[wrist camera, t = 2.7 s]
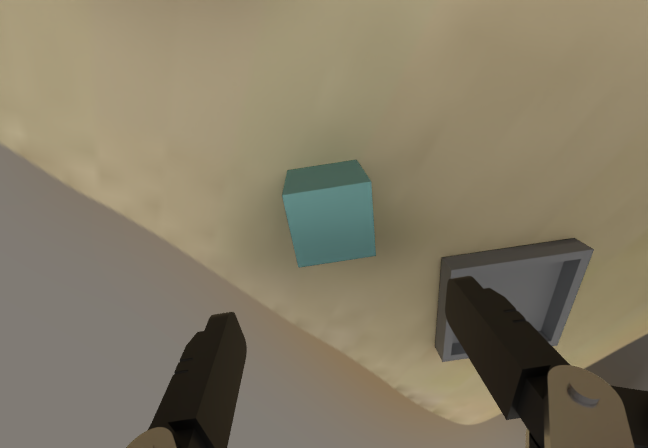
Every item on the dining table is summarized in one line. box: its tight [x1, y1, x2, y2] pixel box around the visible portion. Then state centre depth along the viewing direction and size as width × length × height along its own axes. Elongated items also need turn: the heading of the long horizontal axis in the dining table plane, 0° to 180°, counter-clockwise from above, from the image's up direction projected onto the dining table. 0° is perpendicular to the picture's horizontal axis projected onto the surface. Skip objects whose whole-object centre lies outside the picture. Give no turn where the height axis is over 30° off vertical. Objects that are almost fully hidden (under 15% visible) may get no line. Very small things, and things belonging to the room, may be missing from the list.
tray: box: [435, 238, 594, 362], centre depth 26 cm, size 12×12×2 cm
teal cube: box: [282, 160, 376, 267], centre depth 18 cm, size 5×5×5 cm
